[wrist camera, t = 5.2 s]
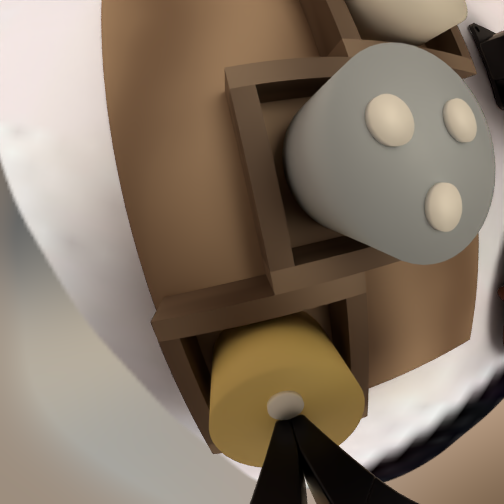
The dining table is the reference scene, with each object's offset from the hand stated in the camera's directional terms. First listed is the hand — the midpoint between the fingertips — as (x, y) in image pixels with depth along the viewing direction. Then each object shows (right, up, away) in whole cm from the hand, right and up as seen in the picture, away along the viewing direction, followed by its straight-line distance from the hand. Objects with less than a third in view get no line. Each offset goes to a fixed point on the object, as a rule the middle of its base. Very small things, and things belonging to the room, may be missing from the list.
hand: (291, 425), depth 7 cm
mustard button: (0, +1, +4) cm, 4 cm away
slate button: (+2, +8, +1) cm, 9 cm away
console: (+2, +9, +4) cm, 10 cm away
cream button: (+4, +16, +1) cm, 17 cm away
